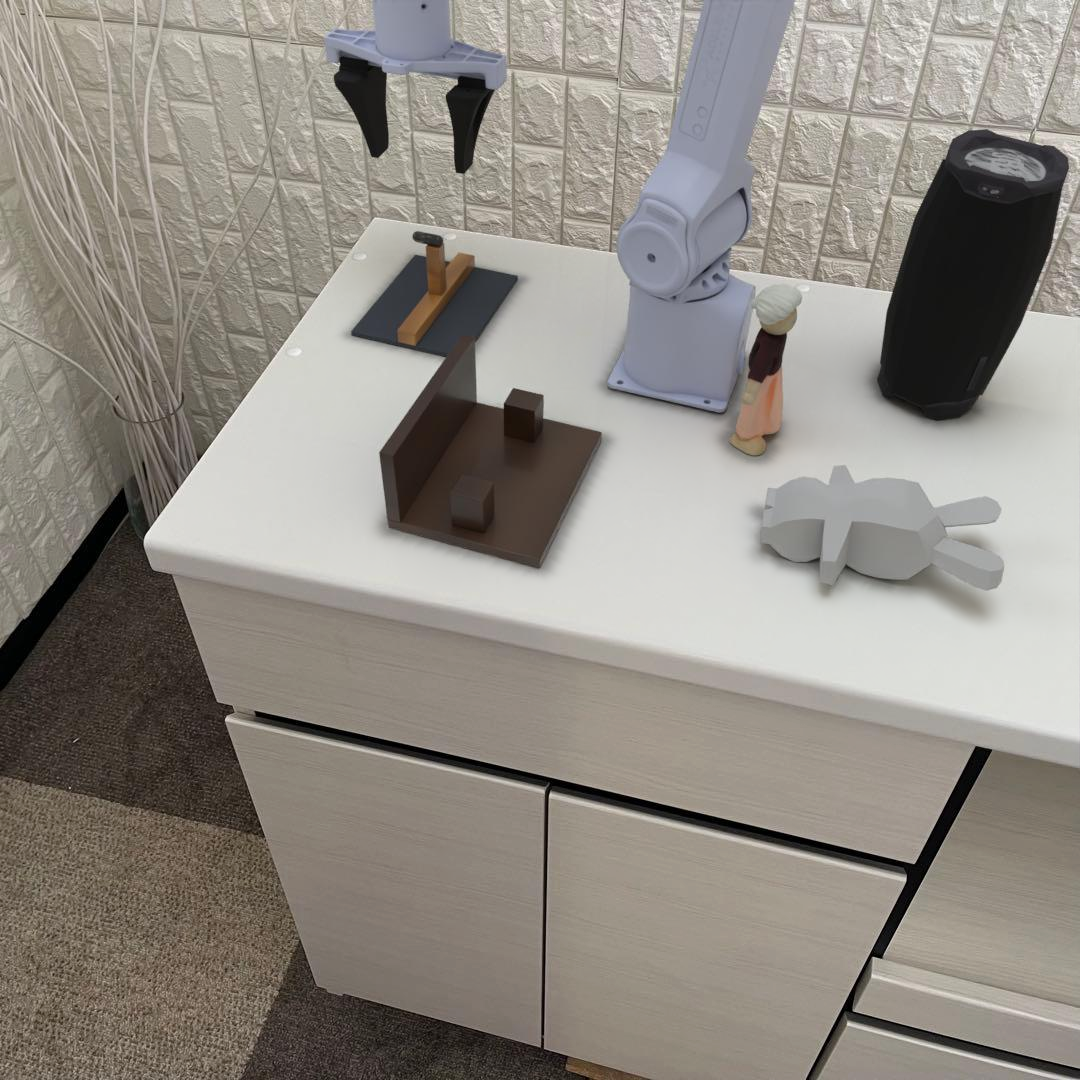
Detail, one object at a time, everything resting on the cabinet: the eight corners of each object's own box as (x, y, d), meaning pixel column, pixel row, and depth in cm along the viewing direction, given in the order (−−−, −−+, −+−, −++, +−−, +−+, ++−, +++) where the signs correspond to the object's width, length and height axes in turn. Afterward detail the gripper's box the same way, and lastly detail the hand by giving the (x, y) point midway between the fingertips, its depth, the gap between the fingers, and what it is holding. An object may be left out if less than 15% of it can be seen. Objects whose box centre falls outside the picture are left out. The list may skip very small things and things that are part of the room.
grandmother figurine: (776, 468, 77) (811, 321, 68) (723, 460, 78) (751, 313, 69) (780, 403, 83) (813, 259, 74) (731, 397, 83) (758, 253, 74)
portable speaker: (859, 355, 87) (925, 122, 73) (974, 361, 87) (1062, 128, 73) (876, 420, 81) (952, 180, 67) (999, 427, 81) (1101, 187, 67)
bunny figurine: (773, 443, 73) (1006, 464, 69) (769, 498, 76) (991, 521, 73) (756, 537, 67) (1012, 566, 63) (753, 593, 70) (995, 623, 66)
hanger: (475, 267, 95) (473, 200, 90) (415, 346, 86) (410, 277, 82) (447, 261, 96) (443, 194, 91) (385, 339, 87) (377, 270, 82)
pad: (518, 279, 94) (518, 275, 94) (462, 360, 86) (462, 356, 86) (415, 258, 97) (415, 254, 96) (351, 335, 88) (350, 331, 88)
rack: (601, 439, 79) (607, 365, 74) (539, 568, 70) (541, 493, 65) (465, 407, 82) (462, 333, 77) (387, 527, 72) (378, 452, 67)
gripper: (296, -12, 77) (320, 166, 87) (481, 16, 74) (485, 197, 83) (340, -41, 82) (359, 130, 91) (516, -16, 78) (516, 159, 88)
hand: (421, 160), depth 88 cm, fingers open, 7 cm apart
